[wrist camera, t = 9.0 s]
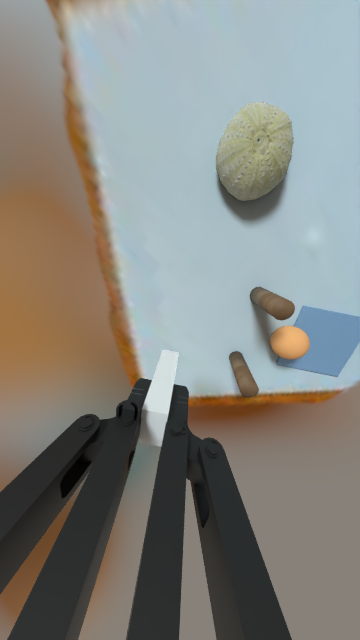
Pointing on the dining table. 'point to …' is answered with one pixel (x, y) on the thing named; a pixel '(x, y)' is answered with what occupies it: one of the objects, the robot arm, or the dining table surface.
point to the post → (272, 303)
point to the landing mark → (325, 341)
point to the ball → (290, 342)
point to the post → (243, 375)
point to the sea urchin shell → (255, 151)
